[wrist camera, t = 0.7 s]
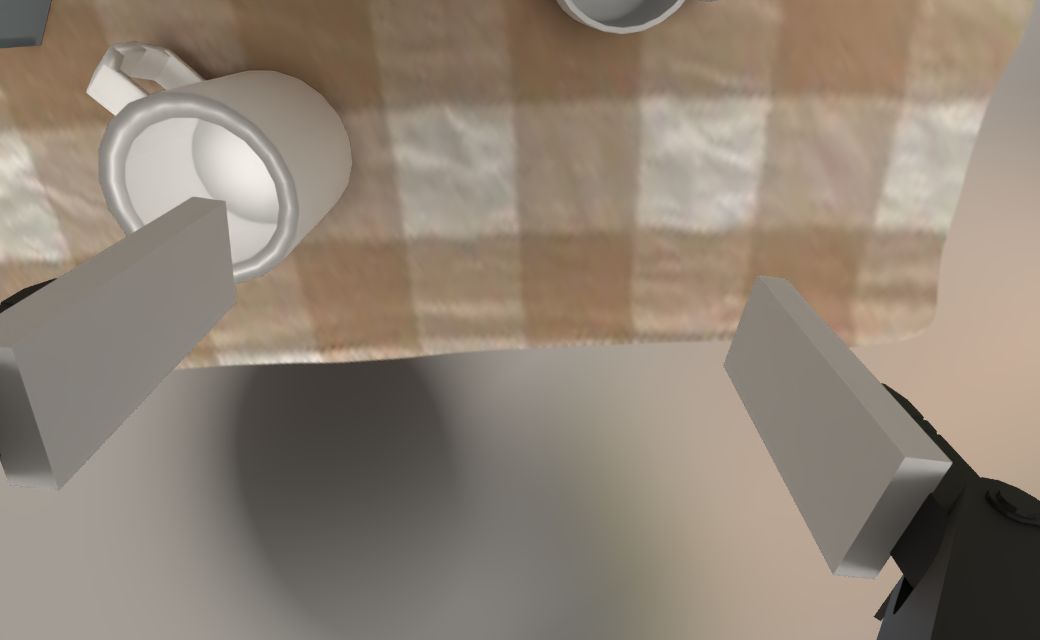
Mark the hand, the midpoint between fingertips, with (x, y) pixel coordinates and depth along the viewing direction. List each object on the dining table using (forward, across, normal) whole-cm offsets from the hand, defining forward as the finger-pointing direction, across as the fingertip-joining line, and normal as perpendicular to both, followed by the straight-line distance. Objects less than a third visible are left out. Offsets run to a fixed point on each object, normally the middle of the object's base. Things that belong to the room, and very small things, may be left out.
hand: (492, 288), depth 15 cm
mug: (+27, -16, -4) cm, 32 cm away
